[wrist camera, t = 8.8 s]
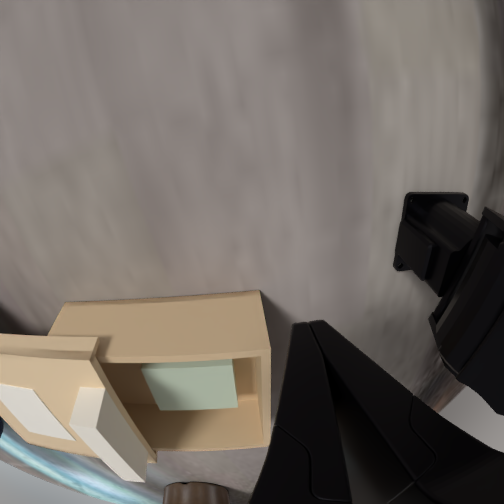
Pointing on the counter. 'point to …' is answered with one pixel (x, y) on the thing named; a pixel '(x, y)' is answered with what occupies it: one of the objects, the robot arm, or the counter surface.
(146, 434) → the mailer box
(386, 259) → the counter surface
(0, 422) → the canister
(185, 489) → the plant pot
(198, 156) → the counter surface
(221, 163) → the counter surface
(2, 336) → the lid
